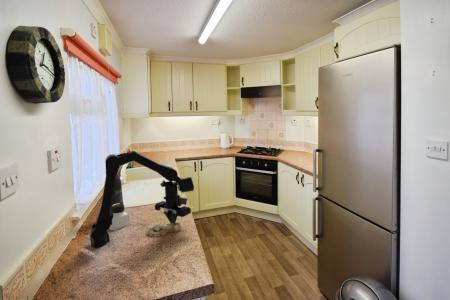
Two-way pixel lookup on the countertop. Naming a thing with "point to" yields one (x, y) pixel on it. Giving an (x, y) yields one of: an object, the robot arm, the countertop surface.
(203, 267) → the countertop surface
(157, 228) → the grey shiny ball
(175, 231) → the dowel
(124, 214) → the printed carton box
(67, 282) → the countertop surface
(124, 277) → the countertop surface
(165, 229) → the ring with handle
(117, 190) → the wine bottle
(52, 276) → the countertop surface
